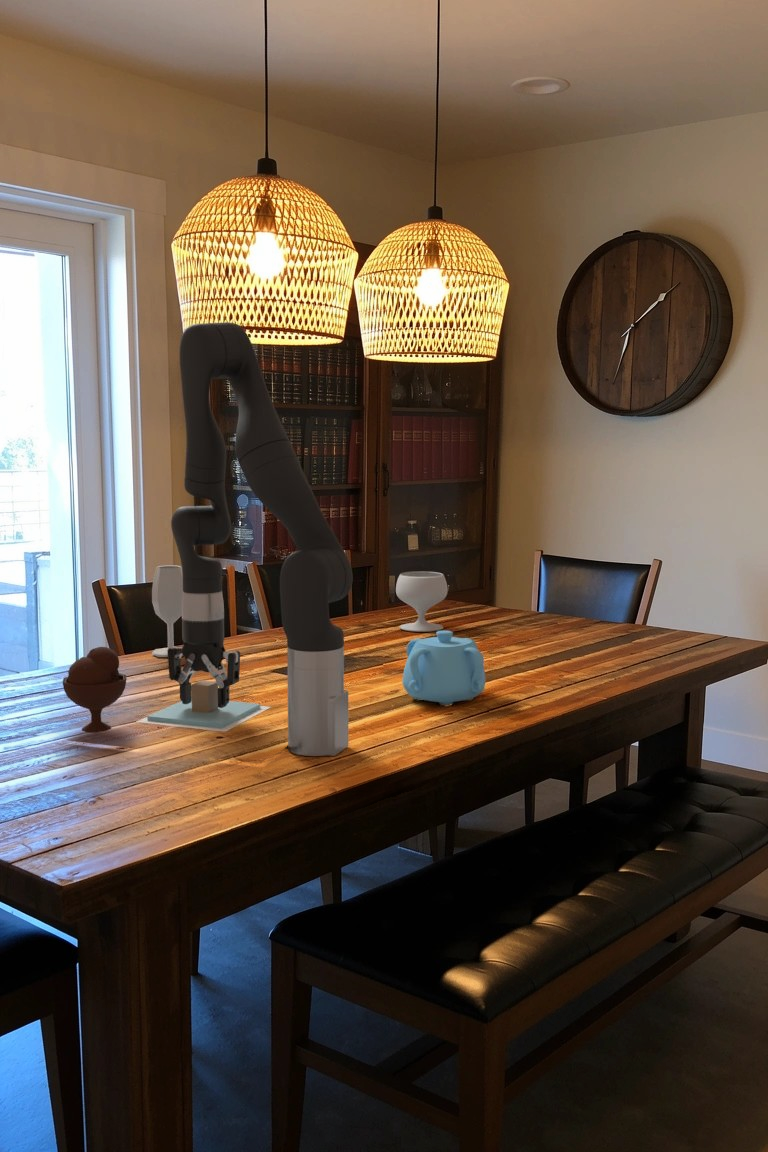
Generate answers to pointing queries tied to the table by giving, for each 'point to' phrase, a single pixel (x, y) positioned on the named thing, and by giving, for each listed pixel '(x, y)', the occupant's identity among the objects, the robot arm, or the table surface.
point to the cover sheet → (205, 718)
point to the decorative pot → (444, 669)
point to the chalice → (421, 596)
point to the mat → (228, 727)
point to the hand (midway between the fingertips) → (204, 704)
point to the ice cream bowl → (95, 684)
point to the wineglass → (167, 600)
